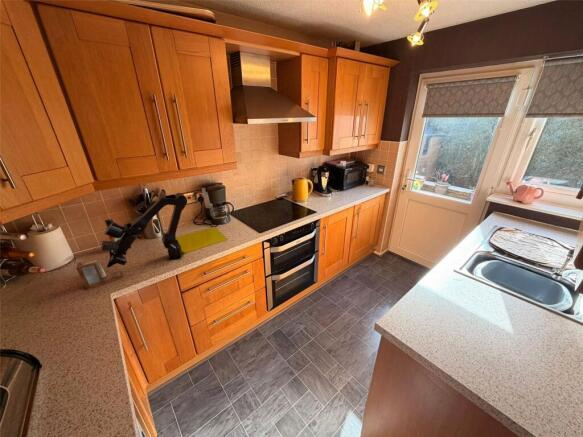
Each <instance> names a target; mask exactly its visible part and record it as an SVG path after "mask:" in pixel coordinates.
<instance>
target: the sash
mask: <svg viewBox="0 0 583 437" xmlns="http://www.w3.org/2000/svg"><path fill="white" fill-rule="evenodd" d="M93 262H95V263H96V265H97V267H98V270H99V272H100V274H101V276H102V277H106V275H107V274H106V272H105V270H104V267H103V265H102V263H101V260H100V259H96V260H92V261H89V262H85V263H83V265H86V264H90V263H93Z"/></svg>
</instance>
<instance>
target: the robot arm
mask: <svg viewBox="0 0 583 437" xmlns="http://www.w3.org/2000/svg"><path fill="white" fill-rule="evenodd" d="M187 204H188V198H187V197H186V195H185V194H184V193H183V192H177V193H174V194H168V195H161V196H159V197H158V199H157V200H156V201H155V202H154V203H153V204H152V205H151V206H149V208H148V209H146V211H145V212H144V213H143V214H142V215H139V216H137V217H136V218H135V219H133V220H132V221H131V222H128V223H125V224H123V225H121V224H119V223H117V222H115V221H113V223H112V224H110V225H109V226H108V227H107V226H106V227H107V229H106V228H105V230H104V233H103V234H104V235H106V236H108V235H109V236H111V237H114V238H121V239H120V240H117V241H116V242H113V241H110V240H102V241H101V246H100V248H101V249H100V250H101V251H103V252H104V251H107V252H108V251H109V252H108V253H109V259H108V262H107V264H106V268H111V267H112V266H114V265H117V264H118V265H121V266H125V265H126V264H127V258H126V256H127V252H128V250H129V249H130V250H131V249H132V245H133V243H134V242H135V241H136V239H139V240H141V239H142V233H143V232H144V231H145V230H146V228H147V226H148V225H149V223H150V221H151V220H152V219H153V218H154V217H155V216H156V215H157V214H158V213H159V212H160V211H162V209H163V208H164V207H165V206H173V209H172V214H171V217H170V221H169V224H168V229H167V230H166V232H162V237H161V242H162V244H163V246H164V248H165V249H167V254H168V260H180V259H182V257H183V255H184V253H185V252H184V251H183V250H182V246H181V244H180V242H179V240H178V239H177V235H176V234H177V230H178V226H179V222H180V219H181V216H182V212H183V211H184V209H185V208H186V206H187ZM109 236H108V237H109Z"/></svg>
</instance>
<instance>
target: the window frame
mask: <svg viewBox="0 0 583 437" xmlns="http://www.w3.org/2000/svg"><path fill="white" fill-rule="evenodd" d="M76 271H77V273H78V275H79V277H80V279H81V281H82V282H83V284H84V286H85V289H86V290H89V289H92V288H95V287H98V286H100V285H103V284H106V283H109V282H112V281H115V280H118V279H121V278H122V276H121V271H120V270H116V271H113V272H111V273H108V274H106V277H102V276H101V274H100V272H99V270H98V267H97V265H96V263H95V262H93V263H90V264H86V265H84V264H82V262H81V261H80V262H76Z"/></svg>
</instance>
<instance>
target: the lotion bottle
mask: <svg viewBox="0 0 583 437" xmlns="http://www.w3.org/2000/svg"><path fill="white" fill-rule="evenodd" d="M113 222H114V219H113V218H108V219H104V224H105V230H106V229H107V227H108V226H109V225H110V224H112V223H113ZM107 236H108V239H109V241H113V242H116V241H117V240H120V239H121V238H122V237H121V238H114V237H111V236H109V235H107Z"/></svg>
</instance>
